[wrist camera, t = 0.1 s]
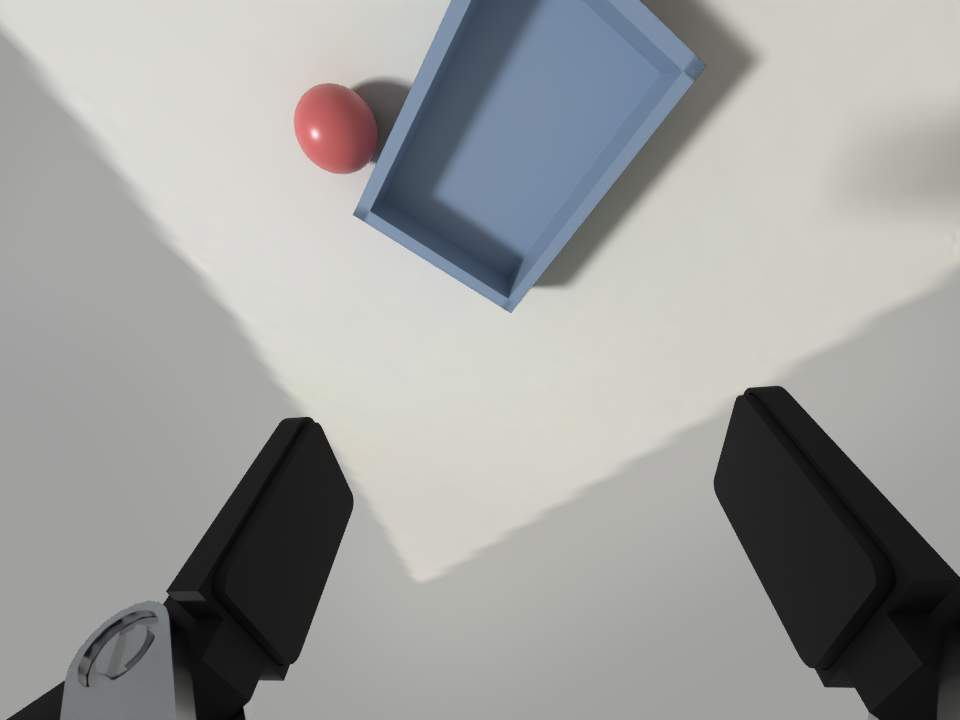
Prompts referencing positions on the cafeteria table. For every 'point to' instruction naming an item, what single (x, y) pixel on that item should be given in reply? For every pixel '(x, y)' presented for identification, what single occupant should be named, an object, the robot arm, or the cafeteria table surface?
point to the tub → (521, 133)
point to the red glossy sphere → (335, 128)
